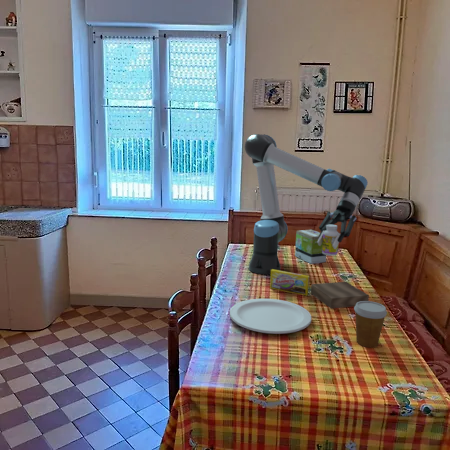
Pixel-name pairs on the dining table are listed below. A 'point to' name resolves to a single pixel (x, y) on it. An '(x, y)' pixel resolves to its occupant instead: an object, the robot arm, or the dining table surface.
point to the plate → (270, 316)
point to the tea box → (309, 247)
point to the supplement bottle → (329, 240)
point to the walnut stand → (338, 294)
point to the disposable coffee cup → (369, 322)
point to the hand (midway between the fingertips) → (326, 245)
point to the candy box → (289, 282)
